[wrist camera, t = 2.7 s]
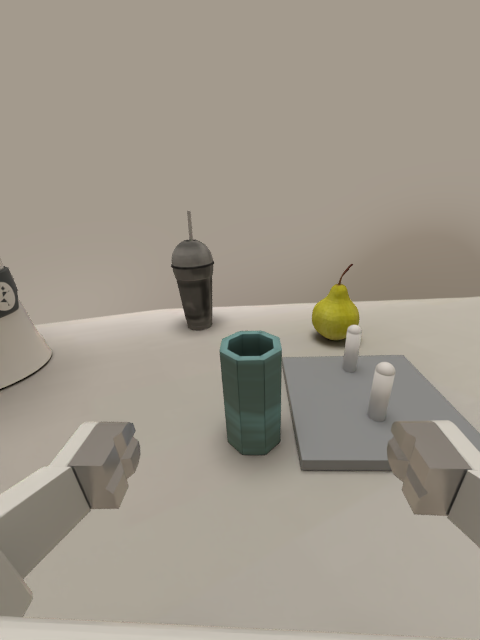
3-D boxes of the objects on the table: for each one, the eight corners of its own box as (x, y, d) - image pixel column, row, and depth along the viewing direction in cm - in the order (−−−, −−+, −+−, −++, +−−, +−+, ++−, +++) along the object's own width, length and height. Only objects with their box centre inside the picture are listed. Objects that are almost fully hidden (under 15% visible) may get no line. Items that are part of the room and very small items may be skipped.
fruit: (313, 347, 41) (319, 270, 36) (308, 328, 47) (312, 260, 43) (360, 348, 40) (373, 269, 36) (349, 328, 47) (358, 258, 42)
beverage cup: (210, 314, 55) (200, 209, 47) (225, 327, 49) (216, 209, 41) (176, 322, 52) (158, 212, 44) (187, 337, 46) (169, 212, 38)
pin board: (301, 470, 23) (305, 402, 20) (282, 364, 37) (283, 317, 34) (501, 471, 22) (536, 400, 19) (401, 362, 36) (412, 313, 34)
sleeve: (226, 454, 24) (217, 360, 20) (230, 414, 29) (223, 331, 25) (281, 454, 24) (283, 359, 20) (277, 414, 29) (277, 330, 25)
